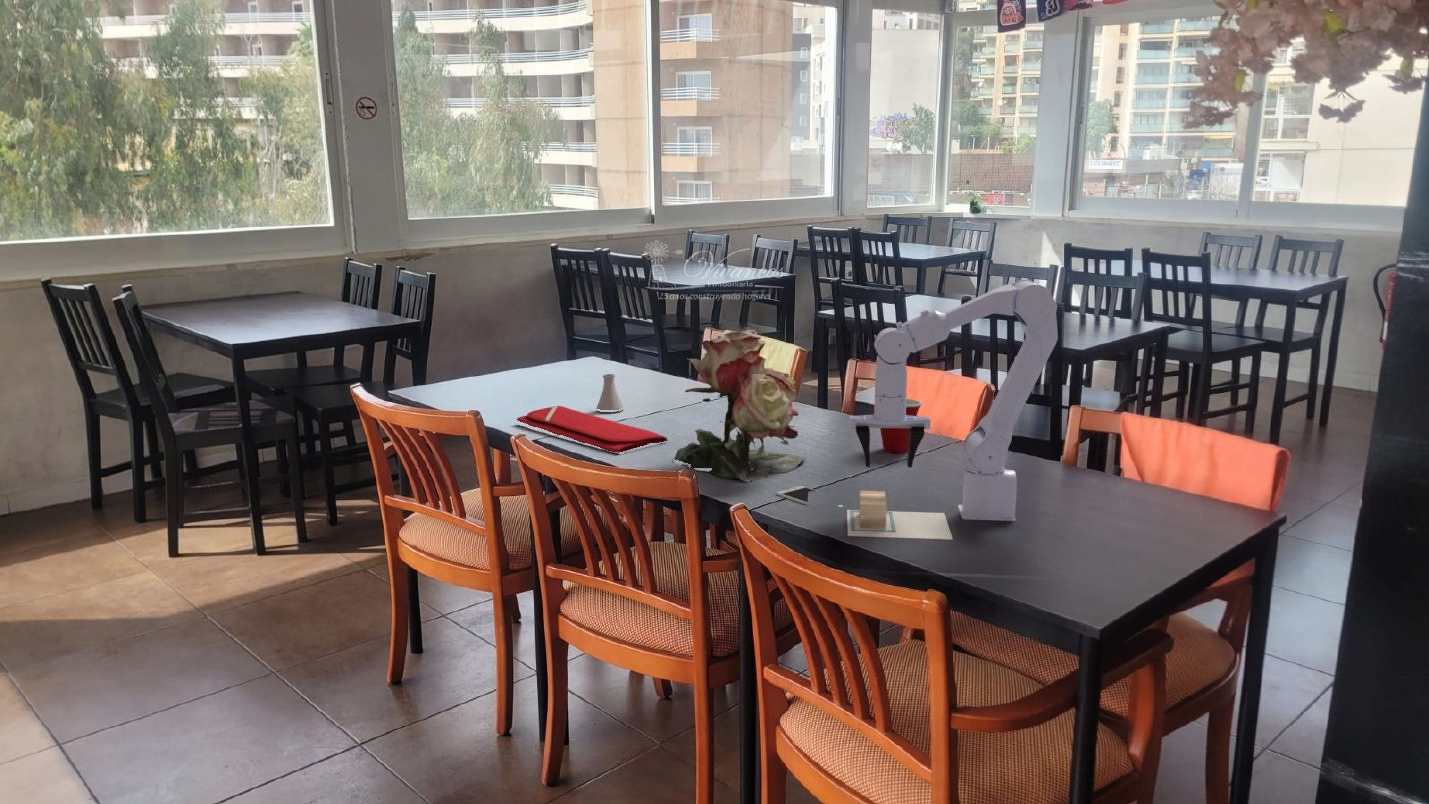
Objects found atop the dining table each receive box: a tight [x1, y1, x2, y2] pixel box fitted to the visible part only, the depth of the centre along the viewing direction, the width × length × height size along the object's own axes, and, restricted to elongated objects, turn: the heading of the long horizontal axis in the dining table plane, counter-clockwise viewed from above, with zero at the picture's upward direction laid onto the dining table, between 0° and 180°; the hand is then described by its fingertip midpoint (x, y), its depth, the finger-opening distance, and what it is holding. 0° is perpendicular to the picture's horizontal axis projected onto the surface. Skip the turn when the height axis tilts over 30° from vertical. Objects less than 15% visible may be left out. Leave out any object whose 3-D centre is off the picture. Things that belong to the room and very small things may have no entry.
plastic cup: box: [879, 398, 923, 454], centre depth 231 cm, size 11×11×12 cm
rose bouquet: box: [673, 326, 806, 483], centre depth 219 cm, size 26×29×30 cm
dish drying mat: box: [516, 405, 668, 453], centre depth 248 cm, size 16×41×4 cm, turn 45°
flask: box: [596, 373, 624, 410], centre depth 272 cm, size 7×7×10 cm
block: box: [858, 490, 888, 529], centre depth 182 cm, size 8×5×4 cm, turn 173°
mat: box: [846, 509, 954, 541], centre depth 181 cm, size 18×14×1 cm
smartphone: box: [775, 485, 844, 508], centre depth 196 cm, size 7×16×1 cm, turn 39°
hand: (888, 465), depth 186 cm, fingers open, 7 cm apart
